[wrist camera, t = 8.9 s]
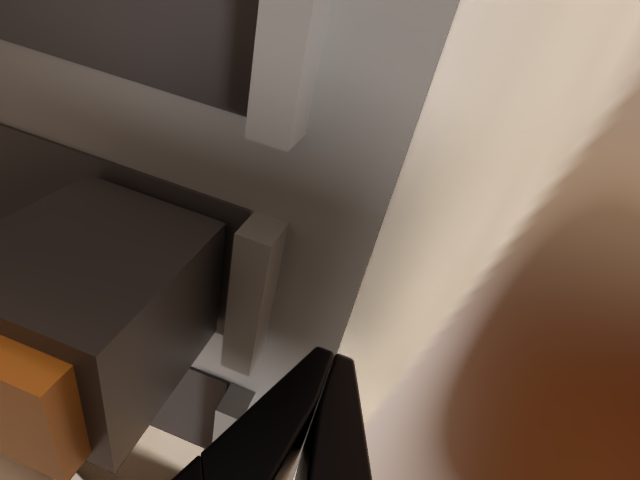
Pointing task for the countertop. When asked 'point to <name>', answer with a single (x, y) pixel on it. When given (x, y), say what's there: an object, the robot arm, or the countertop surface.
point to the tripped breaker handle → (99, 320)
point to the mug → (18, 471)
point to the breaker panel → (229, 151)
